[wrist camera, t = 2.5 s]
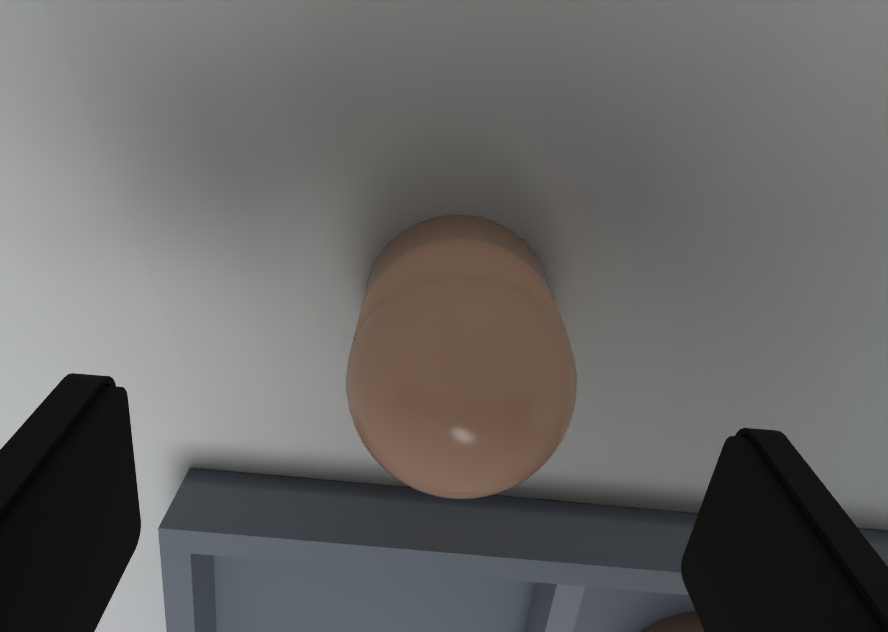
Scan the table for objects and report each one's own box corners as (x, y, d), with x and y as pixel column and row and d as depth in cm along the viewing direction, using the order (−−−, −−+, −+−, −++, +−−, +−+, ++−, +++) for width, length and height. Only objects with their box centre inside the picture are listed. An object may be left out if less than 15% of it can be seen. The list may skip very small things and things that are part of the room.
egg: (563, 226, 17) (626, 346, 11) (531, 389, 19) (570, 560, 13) (372, 204, 17) (336, 316, 11) (360, 372, 19) (324, 540, 13)
